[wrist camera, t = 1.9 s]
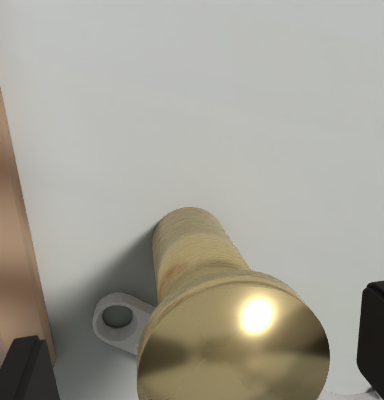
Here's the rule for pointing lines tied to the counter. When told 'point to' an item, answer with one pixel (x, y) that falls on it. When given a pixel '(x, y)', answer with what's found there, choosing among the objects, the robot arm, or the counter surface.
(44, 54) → the counter surface
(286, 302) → the bolt
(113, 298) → the adjustable wrench
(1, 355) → the metal plate with bolts
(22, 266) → the board
